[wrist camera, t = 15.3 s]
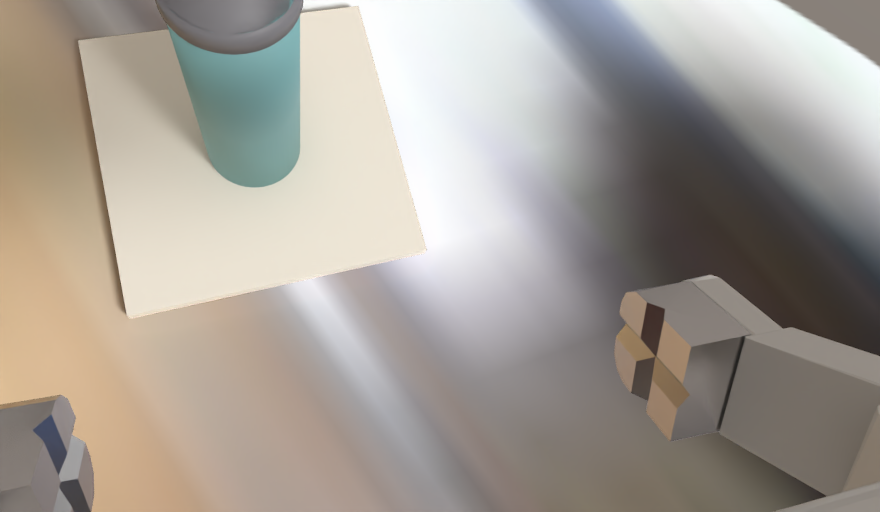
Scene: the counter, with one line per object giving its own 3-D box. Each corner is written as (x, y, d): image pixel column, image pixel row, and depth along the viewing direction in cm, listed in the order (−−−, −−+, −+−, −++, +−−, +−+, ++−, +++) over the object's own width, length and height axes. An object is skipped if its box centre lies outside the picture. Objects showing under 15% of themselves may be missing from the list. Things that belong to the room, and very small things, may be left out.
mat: (424, 253, 29) (426, 249, 29) (130, 318, 26) (126, 316, 26) (357, 13, 32) (358, 6, 31) (82, 48, 29) (77, 40, 28)
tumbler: (286, 201, 28) (277, 57, 18) (190, 172, 28) (123, 7, 17) (314, 119, 29) (321, -61, 19) (223, 90, 29) (180, -111, 19)
